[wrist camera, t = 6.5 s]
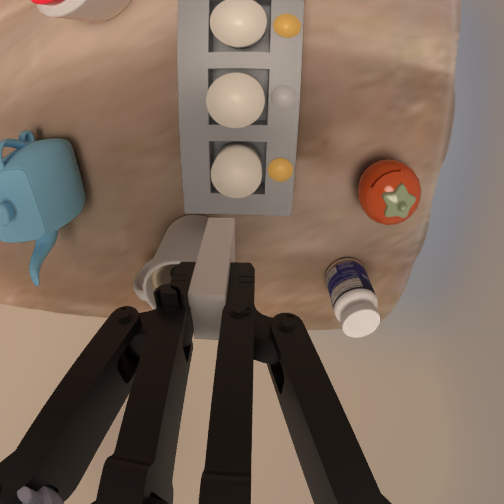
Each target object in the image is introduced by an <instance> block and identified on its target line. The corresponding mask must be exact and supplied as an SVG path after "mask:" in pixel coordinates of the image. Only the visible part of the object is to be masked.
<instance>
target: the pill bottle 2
mask: <svg viewBox="0 0 504 504" xmlns="http://www.w3.org/2000/svg"><path fill="white" fill-rule="evenodd" d="M325 279H326V284H327V288H328V291H329V295H330V298H331V302H332V306H333V310H334V314H335V316H336V318H337V319H338V320H339V321H340V322H341V326H342V329H343V332H344V333H345V334H346V335H348V336H350V337H363V336H366V335H368V334H370V333H372V332H373V331H374V330H375V329H376V328H377V327H378V325H379V323H380V316H379V313H378V310H377V306H378V301H377V297H376V295H375V292H374V290H373V288H372V285H371V283H370V281H369V278H368V276H367V274H366V271H365V269H364V267H363V265H362V264H361V263H360V262H359V261H358V260H356V259H352V258H344V259H340V260H338V261H336V262H334V263H333V264H332V265H331V266H330V267H329V268H328V270H327V272H326V276H325Z"/></svg>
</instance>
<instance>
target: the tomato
mask: <svg viewBox="0 0 504 504" xmlns="http://www.w3.org/2000/svg"><path fill="white" fill-rule="evenodd" d="M420 197H421V187H420V182H419V179H418V177H417V176H416V174H415V173H414V171H413V170H412V169H411V168H410V167H409V166H407V165H406V164H405V163H402V162H399V161H396V160H393V159H389V160H379V161H377V162H374V163H372V164H371V165H370V166H368V167H367V168H366V169H365V171H364V172H363V174H362V175H361V177H360V181H359V184H358V198H359V201H360V204H361V207H362V209H363V210H364V212H365V213H366V214H367V216H368V217H369V218H371V219H372V220H374V221H376V222H377V223H381V224H385V225H393V224H398V223H401V222H403V221H405V220H406V219H408V218H409V217H410V216H411V215H412V214H413V213H414V212H415V210H416V209H417V207H418V204H419V202H420Z"/></svg>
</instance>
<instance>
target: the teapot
mask: <svg viewBox="0 0 504 504" xmlns="http://www.w3.org/2000/svg"><path fill="white" fill-rule="evenodd" d="M3 147H13V148H17V149H16V150H15V151H13V152H12V153H10V154H9V155H7V156H6V157H5V158H3V159H2V150H3ZM85 200H86V198H85V192H84V187H83V183H82V179H81V175H80V171H79V168H78V164H77V161H76V157H75V154H74V151H73V148H72V145H71V143H70V142H69V141H68V140H66V139H61V138H52V139H43V140H38V141H34V135H33V133H32V132H31V131H29V130H25V131H23V132H21V133H20V135H19V140H16V139H4V140H2V141H0V241H3V242H26V241H31V240H35V239H36V244H35V249H34V252H33V254H32V257H31V260H30V267H29V270H30V276H31V279H32V281H33V283H34V284H35V285H36V286H37V287H38V286H39V271H40V267H41V264H42V262H43V260H44V259H45V257H46V256H47V254H48V253H49V252H50V250H51V249H52V247H53V246H54V244H55V241H56V239H57V234H58V229H59V228H61V227H63V226H64V225H66V224H67V223H69V222H70V221H71V220H73V219H74V218H75V217H76V216H77V215H79V214H80V213H81V211H82V209H83V207H84V204H85Z"/></svg>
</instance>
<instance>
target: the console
mask: <svg viewBox="0 0 504 504" xmlns="http://www.w3.org/2000/svg"><path fill="white" fill-rule="evenodd" d="M223 1H224V0H178V34H177V66H178V110H179V134H180V153H181V169H182V183H183V196H184V208H185V214H241V215H274V216H291V211H292V200H293V188H294V175H295V163H296V149H297V135H298V120H299V103H300V85H301V65H302V41H303V10H304V0H254V1H255V2H257V3H258V4H259V5H260V6H261V7H262V8H263V10H264V11H265V14H266V18H267V24H266V30H265V34H264V36H263V38H262V39H261V40H260V41H259V42H258V43H257V44H256V45H254V46H252V47H249V48H245V49H235V48H231V47H229V46H227V45H225V44H224V43H223V42H221V41H220V40H219V39H217V38H216V37H215V35H214V34H213V32H212V30H211V28H210V17H211V14H212V12H213V10H214V9H215V7H216V6H217V5H218V4H220V3H221V2H223ZM237 72H240V73H246V74H249V75H251V76H253V77H254V78H256V79H257V80H258V81H259V83H260V84H261V86H262V88H263V91H264V96H265V105H264V109H263V111H262V113H261V115H260V116H259V118H258V119H257V120H256V121H254V122H253V123H252V124H250V125H248V126H245V127H242V128H229V127H225V126H223V125H220V124H219V123H217V122H216V121H215V120H214V119H213V118H212V117H211V115H210V114H209V112H208V110H207V106H206V95H207V92H208V89H209V87H210V86H211V84H212V83H213V82H214V81H215V80H216V79H218V78H219V77H221V76H223V75H226V74H229V73H237ZM232 141H245V142H248V143H250V144H252V145H253V146H254V147H255V148H256V149H257V150H258V152H259V153H260V156H261V164H262V179H261V183H260V185H259V187H258V188H257V189H256V191H255V192H253V193H252V194H251V195H249V196H247V197H243V198H230V197H227V196H225V195H223V194H221V193H220V192H219V191H218V190H217V189H216V188H215V187H214V185H213V183H212V180H211V169H212V166H213V163H214V161H215V159H216V157H217V155H218V153H219V151H220V149H221V148H222V147H223V146H224V145H226V144H227V143H229V142H232Z"/></svg>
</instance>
